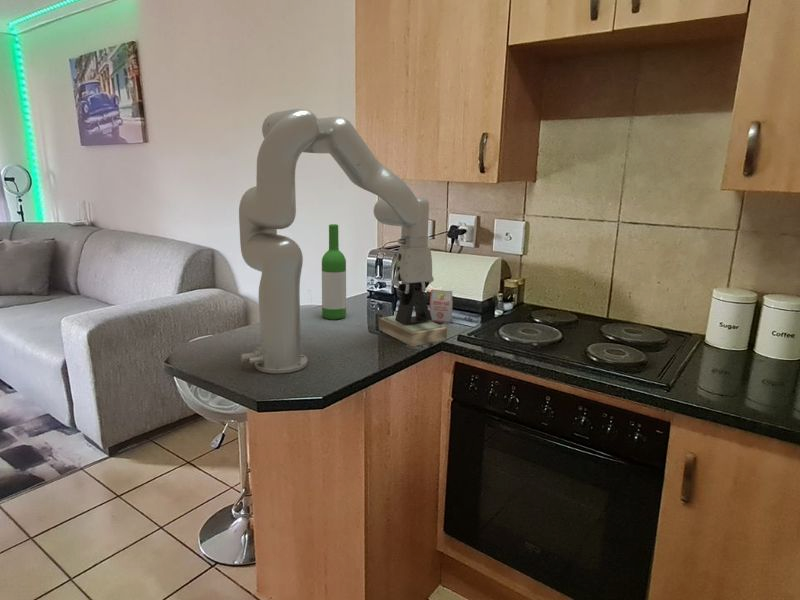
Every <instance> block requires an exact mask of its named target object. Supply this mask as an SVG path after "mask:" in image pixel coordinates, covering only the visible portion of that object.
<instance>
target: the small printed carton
mask: <svg viewBox="0 0 800 600" xmlns="http://www.w3.org/2000/svg"><path fill="white" fill-rule="evenodd" d="M453 305H454V303H453V290H444V289H443V290H441V289H430V298H429V312H430V315H431V318H432V320H431V321H432V322H438V323H439V322H440V323H449V324H451V321H452V320H453Z"/></svg>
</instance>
